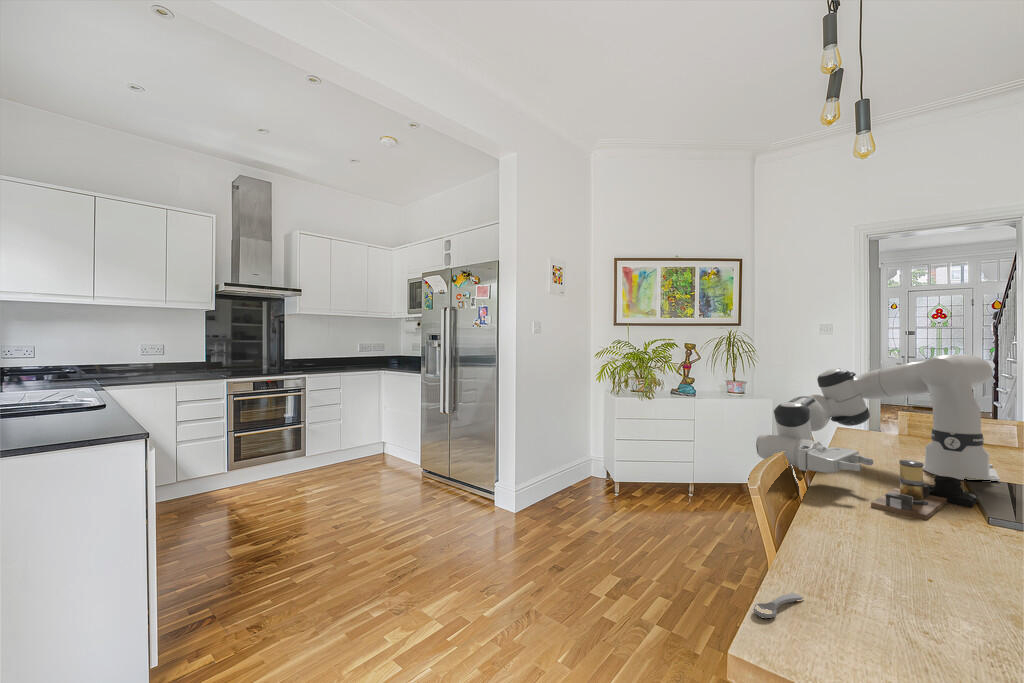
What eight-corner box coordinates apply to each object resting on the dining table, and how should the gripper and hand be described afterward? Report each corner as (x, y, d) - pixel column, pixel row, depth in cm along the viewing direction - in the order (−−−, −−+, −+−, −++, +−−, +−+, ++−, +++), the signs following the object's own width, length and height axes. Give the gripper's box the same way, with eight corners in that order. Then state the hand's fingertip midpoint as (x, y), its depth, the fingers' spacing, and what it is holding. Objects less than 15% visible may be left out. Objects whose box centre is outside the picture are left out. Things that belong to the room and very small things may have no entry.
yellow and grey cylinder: (902, 495, 123) (902, 458, 123) (926, 500, 119) (925, 462, 119) (897, 499, 120) (896, 461, 120) (920, 504, 116) (920, 465, 116)
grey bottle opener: (748, 615, 72) (748, 602, 72) (790, 599, 78) (790, 587, 78) (766, 625, 70) (767, 612, 70) (808, 607, 76) (808, 595, 76)
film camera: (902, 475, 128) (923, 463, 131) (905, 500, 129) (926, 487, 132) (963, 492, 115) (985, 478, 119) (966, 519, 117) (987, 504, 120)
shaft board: (895, 492, 130) (894, 478, 130) (947, 502, 121) (947, 488, 121) (870, 506, 118) (870, 491, 119) (926, 520, 110) (926, 503, 110)
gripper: (825, 460, 144) (879, 469, 133) (796, 471, 132) (853, 482, 121) (825, 440, 144) (879, 448, 133) (796, 449, 132) (853, 459, 121)
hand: (866, 464), depth 127 cm, fingers open, 8 cm apart
